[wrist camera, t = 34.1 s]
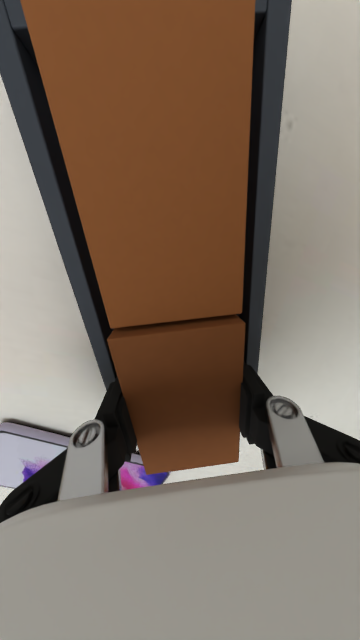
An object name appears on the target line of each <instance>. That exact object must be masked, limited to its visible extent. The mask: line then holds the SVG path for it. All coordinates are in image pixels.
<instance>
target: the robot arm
mask: <svg viewBox="0 0 360 640" xmlns="http://www.w3.org/2000/svg"><path fill="white" fill-rule="evenodd" d="M239 429H240V431H241V434H242V436H243V437H244V438H247V440H248V442H249V444H256V446H257V447H259V448H261V454H262V460H263V467H264V470H260V471H252V472H245V473H238V474H231V475H224V476H217V477H210V478H203V479H196V480H189V481H182V482H175V483H168V484H161V485H155V486H148V487H141V488H135V489H128V490H122V488H121V474H120V468H121V467H122V466H123V465H124V462H127V461H131V456H132V453H135V451H136V445H137V439H136V435H135V432H134V428H133V425H132V422H131V418H130V415H129V411H128V408H127V404H126V401H125V398H124V397H123V393H122V390H121V387H120V383H119V380H118V376H117V377H116V380H115V382H111V383H110V385H109V387H108V390H107V392H106V394H105V397H104V399H103V401H102V403H101V406H100V408H99V410H98V413H97V415H96V417H95V420H90V421H87V422H85V423H83V424H82V425H81V426H79V427H78V428H77V429H76V430H75V431H74V432H73V434H72V435H71V437H70V440H69V444H68V448H67V449H66V450H64V451H63V452H62V453H60V454H59V455H58V456H57V457H55V458H54V459H53V460H51V461H50V462H49V463H47V464H46V465H45V466H44V467H42V468H41V469H40V470H38V471H37V472H36V473H35V474H33V475H32V476H31V477H29V478H28V479H27V480H26V481H24V482H23V483H22V484H20V485H19V486H18V487H17V488H16V489H14V490H13V491H12V492H11V493H10V494H9V495H8V496H7V498H6V499H5V500H4V501H3V502H2V504H1V505H0V640H360V441H359V440H357V439H355V438H353V437H351V436H348V435H346V434H344V433H342V432H339V431H337V430H335V429H332V428H330V427H328V426H326V425H323V424H321V423H319V422H317V421H314V420H312V419H310V418H308V417H305V416H304V415H303V413H302V411H301V409H300V408H299V406H298V405H297V404H296V403H295V402H293V401H292V400H290V399H288V398H286V397H282V396H273V395H272V393H271V392H270V391H269V389H268V388H267V387H266V385H265V384H264V383H263V381H262V380H261V378H260V377H259V376H258V374H257V373H256V372H255V370H254V369H253V368H252V366H251V365H246V364H245V362H244V363H243V382H242V383H241V392H240V413H239Z"/></svg>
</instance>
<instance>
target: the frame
mask: <svg viewBox="0 0 360 640" xmlns="http://www.w3.org/2000/svg"><path fill="white" fill-rule="evenodd" d="M291 2H292V0H255V22H254V46H253V69H252V92H251V116H250V139H249V162H248V186H247V209H246V232H245V256H244V279H243V303H242V313H241V314H236V315H237V316H238V317H239V318H240V319H241V320H243V321H244V322H245V343H244V362H245V364H246V365H251V366H252V368H253V369H254V370H255V372H256V373H257V372H258V361H259V350H260V340H261V329H262V318H263V307H264V296H265V285H266V274H267V263H268V253H269V242H270V231H271V220H272V209H273V198H274V187H275V176H276V166H277V155H278V144H279V133H280V122H281V111H282V100H283V89H284V78H285V68H286V57H287V46H288V35H289V24H290V13H291ZM0 74H1V77H2V80H3V83H4V86H5V89H6V92H7V95H8V98H9V101H10V104H11V107H12V110H13V113H14V116H15V119H16V122H17V125H18V127H19V130H20V133H21V136H22V139H23V142H24V145H25V148H26V151H27V154H28V157H29V160H30V163H31V166H32V169H33V172H34V175H35V178H36V181H37V184H38V187H39V190H40V193H41V196H42V199H43V202H44V205H45V208H46V211H47V214H48V217H49V220H50V223H51V226H52V229H53V232H54V235H55V238H56V241H57V244H58V247H59V250H60V253H61V256H62V259H63V262H64V265H65V268H66V271H67V274H68V277H69V280H70V283H71V286H72V289H73V292H74V295H75V298H76V301H77V304H78V307H79V310H80V313H81V316H82V319H83V322H84V325H85V328H86V330H87V333H88V336H89V339H90V342H91V345H92V348H93V351H94V354H95V357H96V360H97V363H98V366H99V369H100V372H101V375H102V378H103V381H104V384H105V387H106V390H108V387H109V385H110V383H111V382H115V380H116V377H117V373H116V369H115V366H114V363H113V359H112V356H111V352H110V349H109V345H108V342H107V339H108V337H109V336H110V334H111V333H112V331H113V330H114V329H115V328H110V325H109V321H108V318H107V314H106V310H105V307H104V303H103V299H102V296H101V292H100V289H99V285H98V281H97V278H96V274H95V270H94V267H93V263H92V259H91V256H90V252H89V249H88V245H87V241H86V238H85V234H84V230H83V227H82V223H81V220H80V216H79V212H78V209H77V205H76V201H75V198H74V194H73V190H72V187H71V183H70V180H69V176H68V172H67V169H66V165H65V161H64V158H63V154H62V150H61V147H60V143H59V140H58V136H57V132H56V129H55V125H54V121H53V118H52V114H51V111H50V107H49V103H48V100H47V96H46V92H45V89H44V85H43V81H42V78H41V74H40V71H39V67H38V63H37V60H36V56H35V52H34V49H33V45H32V41H31V38H30V34H29V31H28V27H27V23H26V20H25V16H24V12H23V9H22V5H21V1H20V0H0ZM240 432H241V431H240ZM136 446H137V445H136Z"/></svg>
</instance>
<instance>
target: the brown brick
mask: <svg viewBox="0 0 360 640" xmlns="http://www.w3.org/2000/svg"><path fill="white" fill-rule="evenodd" d="M107 342H108V345H109V349H110V352H111V356H112V359H113V363H114V366H115V369H116V373H117V376H118V380H119V383H120V387H121V390H122V393H123V397H124V398H125V401H126V404H127V408H128V411H129V415H130V418H131V422H132V425H133V428H134V432H135V435H136V439H137V445H138V448H139V452H140V455H141V459H142V462H143V465H144V469H145V472H146V475H150V474H157V473H164V472H171V471H178V470H185V469H192V468H199V467H206V466H213V465H220V464H226V463H233V462H238V459H239V440H240V429H239V413H240V392H241V383H242V382H243V363H244V343H245V322H244V321H243V320H241V319H240V318H239V317H238V316H237V315H236V314H233V315H225V316H216V317H207V318H199V319H190V320H181V321H173V322H164V323H155V324H147V325H138V326H129V327H121V328H115V329H114V330H113V331H112V333H111V334H110V336H109V337H108V339H107Z"/></svg>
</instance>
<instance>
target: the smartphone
mask: <svg viewBox="0 0 360 640" xmlns="http://www.w3.org/2000/svg"><path fill="white" fill-rule="evenodd" d="M69 440H70V437H66V436H62V435H58V434H54V433H50V432H46V431H42V430H38V429H34V428H30V427H26V426H23V425H19V424H15V423H9V422H5V423H1V424H0V486H2V487H8V488H14V489H16V488H17V487H18V486H19V485H20V484H22V483H23V482H24V481H26V480H27V479H28V478H29V477H31V476H32V475H33V474H35V473H36V472H37V471H38V470H40V469H41V468H42V467H44V466H45V465H46V464H47V463H49V462H50V461H51V460H53V459H54V458H55V457H57V456H58V455H59V454H60V453H62V452H63V451H64V450H66V449H67V448H68V444H69ZM170 473H171V472H164V473H157V474H150V475H146V472H145V469H144V465H143V462H142V459H141V455H137V454H133V453H132V456H131V461H127V462H124V465H123V466H122V467H121V468H120V474H121V488H122V490H128V489H135V488H141V487H148V486H155V485H161V484H163V483H164V482H165V480H166V479H167V478H168V477H169V475H170Z"/></svg>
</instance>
